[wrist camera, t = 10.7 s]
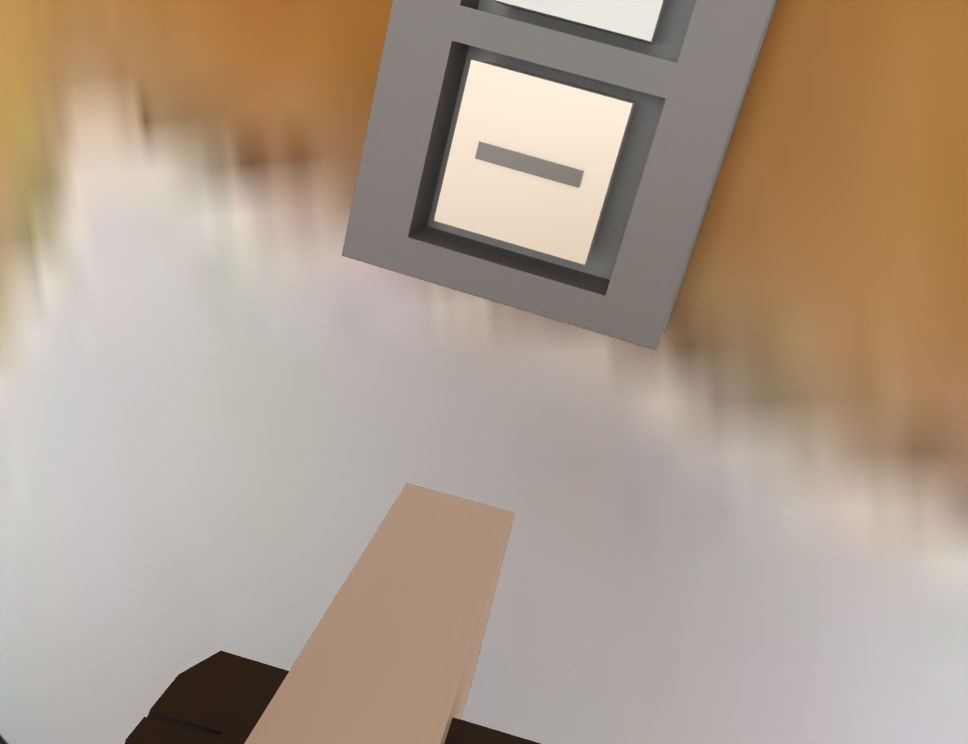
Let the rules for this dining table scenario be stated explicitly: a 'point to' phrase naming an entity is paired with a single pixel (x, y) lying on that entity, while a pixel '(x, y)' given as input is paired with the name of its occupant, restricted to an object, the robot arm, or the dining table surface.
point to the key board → (638, 178)
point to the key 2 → (601, 15)
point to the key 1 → (532, 160)
